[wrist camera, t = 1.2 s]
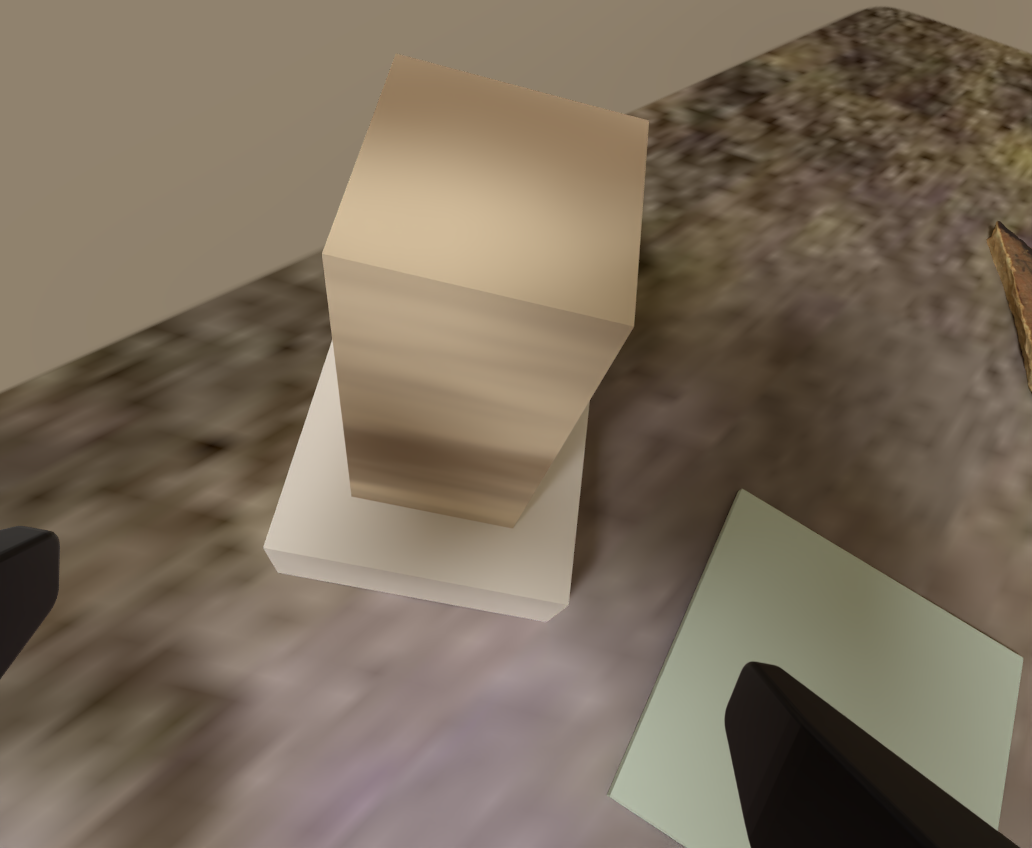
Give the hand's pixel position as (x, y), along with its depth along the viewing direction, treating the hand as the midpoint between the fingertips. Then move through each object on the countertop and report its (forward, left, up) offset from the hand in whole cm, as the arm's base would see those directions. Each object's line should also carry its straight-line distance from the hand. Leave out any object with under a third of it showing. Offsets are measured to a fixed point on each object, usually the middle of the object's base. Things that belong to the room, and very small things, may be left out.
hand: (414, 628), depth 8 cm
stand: (+7, +3, -13) cm, 15 cm away
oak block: (+7, +3, -10) cm, 13 cm away
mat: (+7, -13, -13) cm, 20 cm away
